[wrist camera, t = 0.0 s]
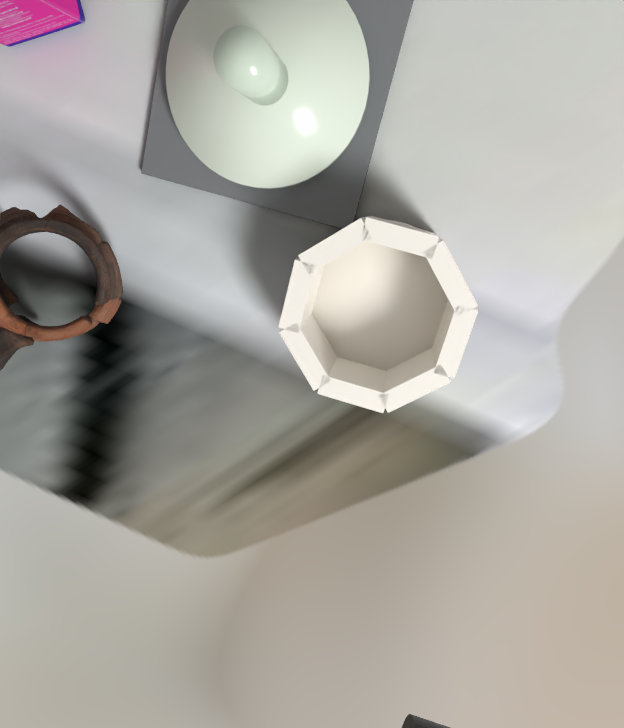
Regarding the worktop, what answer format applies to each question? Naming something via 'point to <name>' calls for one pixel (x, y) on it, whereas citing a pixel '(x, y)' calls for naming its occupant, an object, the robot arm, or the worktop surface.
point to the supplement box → (36, 18)
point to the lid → (267, 86)
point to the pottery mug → (11, 332)
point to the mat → (321, 193)
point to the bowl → (377, 314)
